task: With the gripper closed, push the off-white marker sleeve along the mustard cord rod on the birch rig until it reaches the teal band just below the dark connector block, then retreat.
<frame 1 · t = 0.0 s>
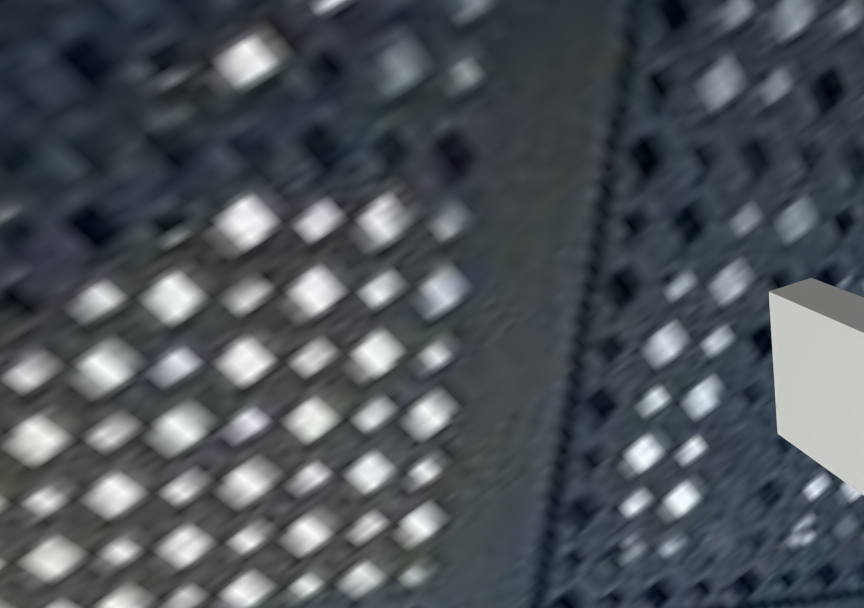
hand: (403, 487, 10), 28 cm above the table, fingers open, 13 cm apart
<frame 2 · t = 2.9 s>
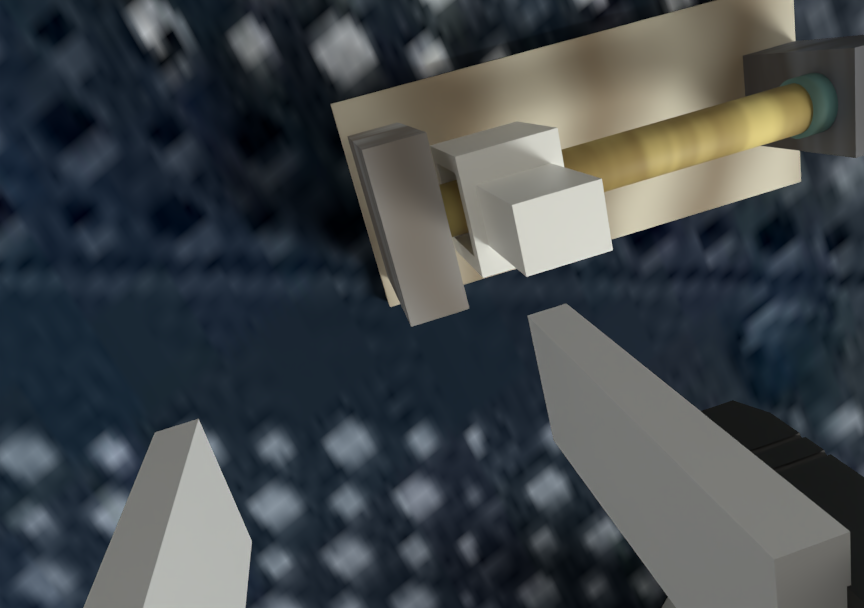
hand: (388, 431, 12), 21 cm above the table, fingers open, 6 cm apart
cord rig: (581, 145, 33), on the table
sleeve: (517, 203, 25), point 8 cm above the table, slide at 0.0 cm
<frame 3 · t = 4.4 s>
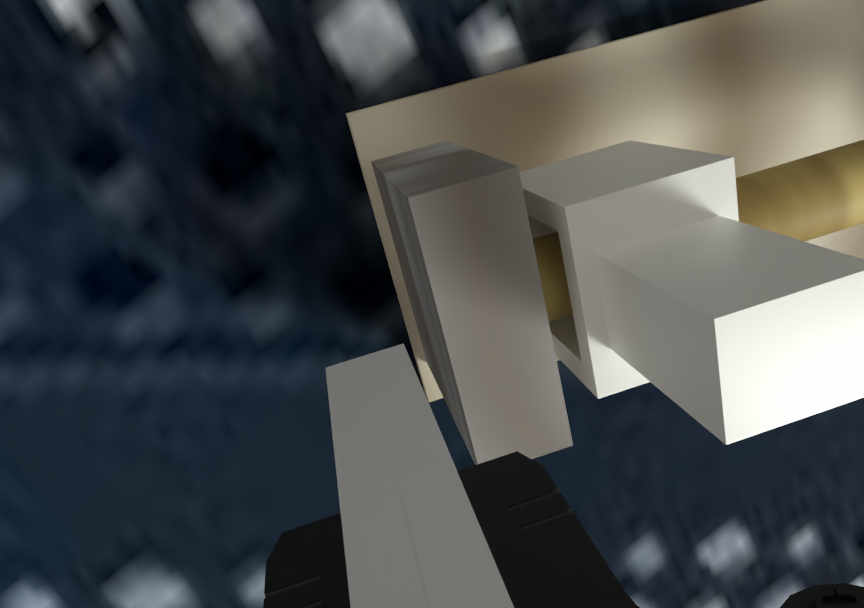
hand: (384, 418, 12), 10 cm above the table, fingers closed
cord rig: (701, 171, 23), on the table
sleeve: (658, 280, 15), point 8 cm above the table, slide at 0.0 cm
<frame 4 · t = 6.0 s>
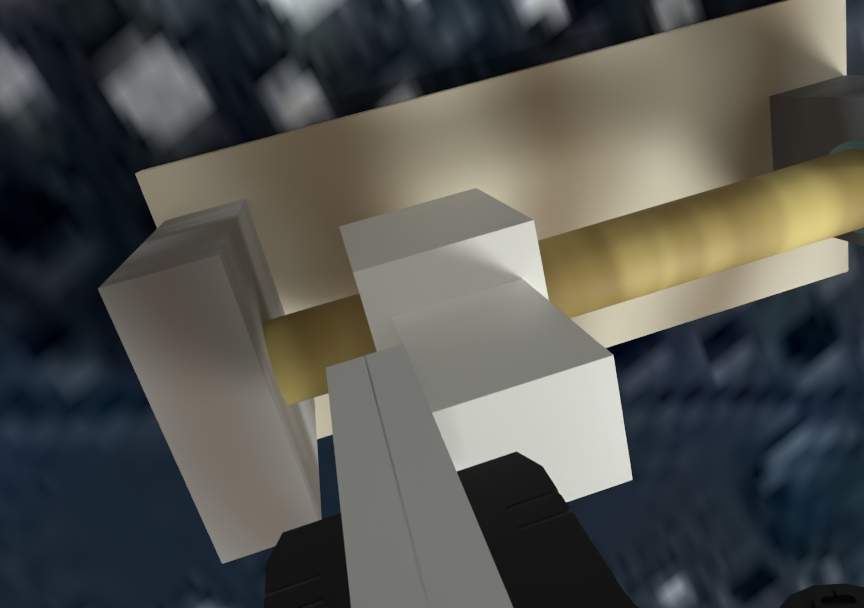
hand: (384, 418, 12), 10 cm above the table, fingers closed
cord rig: (532, 224, 22), on the table
sleeve: (467, 343, 15), point 8 cm above the table, slide at 1.7 cm, touching gripper
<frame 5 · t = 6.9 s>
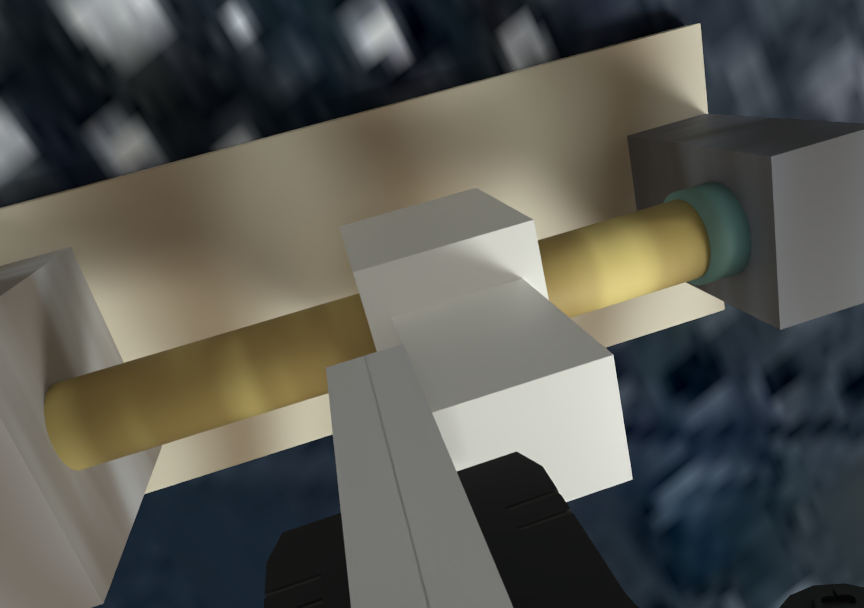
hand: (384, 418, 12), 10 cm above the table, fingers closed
cord rig: (388, 266, 22), on the table
sleeve: (467, 343, 15), point 8 cm above the table, slide at 6.8 cm, touching gripper
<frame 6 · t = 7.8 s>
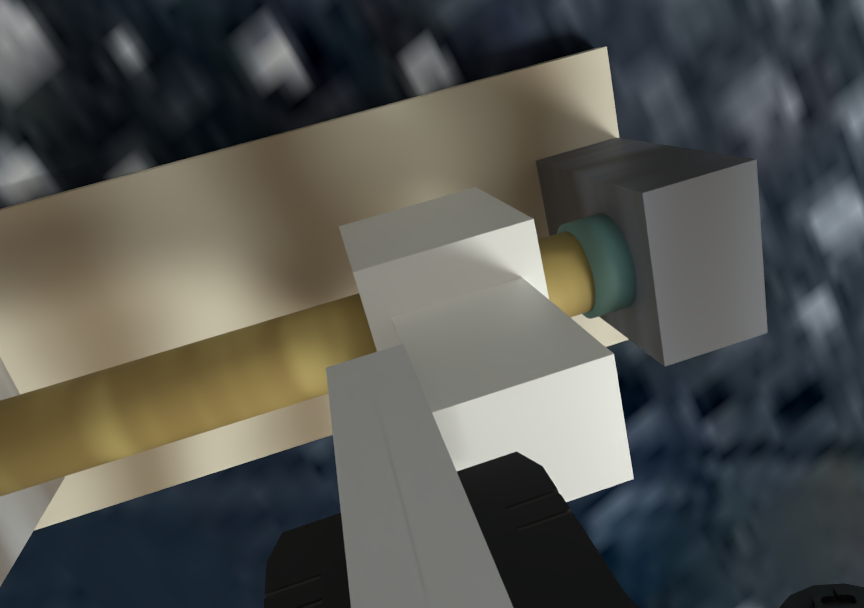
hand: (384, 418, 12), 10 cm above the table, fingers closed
cord rig: (295, 293, 21), on the table
sleeve: (467, 342, 15), point 8 cm above the table, slide at 10.0 cm, touching gripper
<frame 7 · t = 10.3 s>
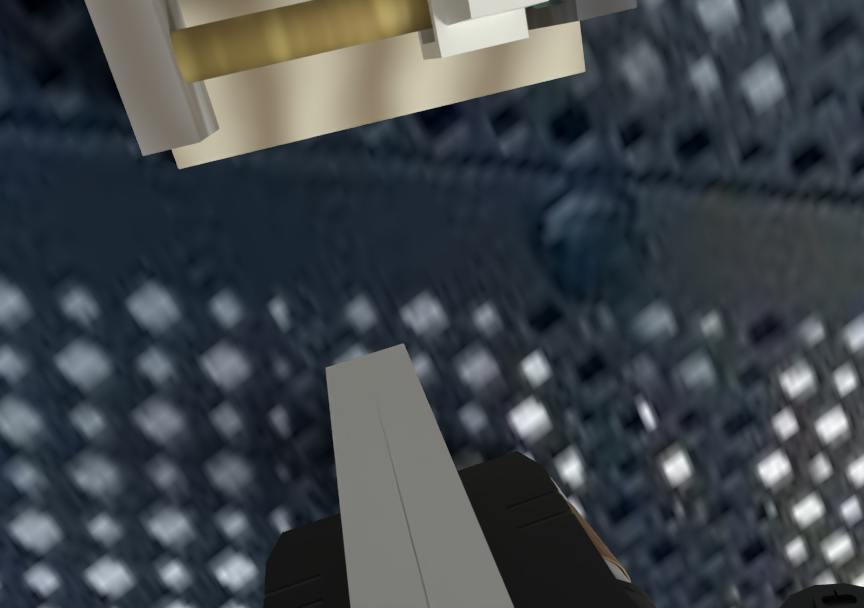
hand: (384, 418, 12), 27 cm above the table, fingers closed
cord rig: (364, 22, 34), on the table
coffee cup: (516, 499, 47), on the table
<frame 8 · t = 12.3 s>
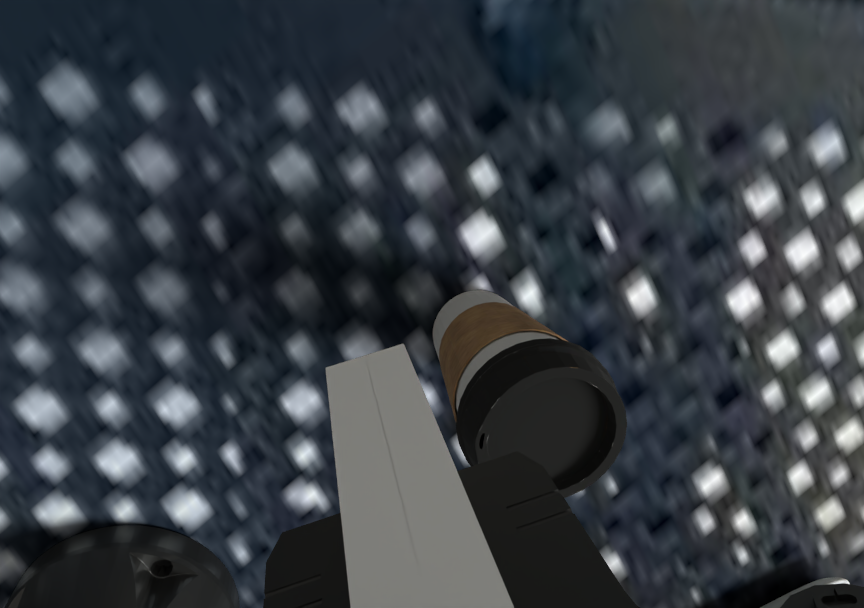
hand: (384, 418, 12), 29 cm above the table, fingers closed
coffee cup: (473, 329, 45), on the table
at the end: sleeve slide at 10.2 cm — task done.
